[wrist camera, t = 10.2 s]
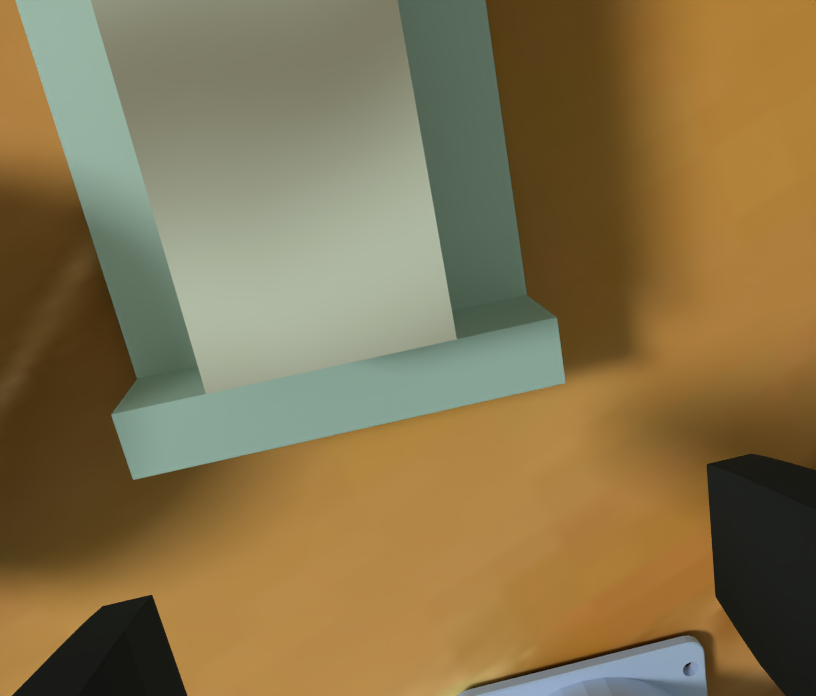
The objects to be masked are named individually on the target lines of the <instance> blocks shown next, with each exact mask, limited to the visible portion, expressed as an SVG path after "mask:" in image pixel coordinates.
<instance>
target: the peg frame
mask: <svg viewBox="0 0 816 696" xmlns="http://www.w3.org/2000/svg"><path fill="white" fill-rule="evenodd" d="M15 1H16V4H17V7H18V10H19V13H20V16H21V19H22V23H23V26H24V29H25V32H26V35H27V38H28V41H29V44H30V47H31V51H32V54H33V57H34V60H35V63H36V66H37V69H38V72H39V75H40V79H41V82H42V85H43V88H44V91H45V94H46V97H47V100H48V103H49V107H50V110H51V113H52V116H53V119H54V122H55V125H56V128H57V131H58V135H59V138H60V141H61V144H62V147H63V150H64V153H65V156H66V159H67V163H68V166H69V169H70V172H71V175H72V178H73V181H74V184H75V187H76V191H77V194H78V197H79V200H80V203H81V206H82V209H83V212H84V215H85V219H86V222H87V225H88V228H89V231H90V234H91V237H92V240H93V243H94V247H95V250H96V253H97V256H98V259H99V262H100V265H101V268H102V271H103V275H104V278H105V281H106V284H107V287H108V290H109V293H110V296H111V299H112V302H113V306H114V309H115V312H116V315H117V318H118V321H119V324H120V327H121V330H122V334H123V337H124V340H125V343H126V346H127V349H128V352H129V355H130V358H131V362H132V365H133V368H134V371H135V374H136V377H137V380H136V381H135V382H134V384H133V385H132V387H131V388H130V389H129V391H128V392H127V393H126V395H125V396H124V398H123V399H122V400H121V402H120V403H119V404H118V406H117V407H116V408H115V410H114V411H113V413H112V414H111V416H112V419H113V422H114V425H115V428H116V431H117V434H118V437H119V440H120V443H121V446H122V449H123V452H124V455H125V457H126V460H127V463H128V466H129V469H130V472H131V475H132V478H133V480H135V479H140V478H144V477H149V476H153V475H158V474H162V473H167V472H171V471H176V470H180V469H185V468H189V467H193V466H198V465H202V464H207V463H211V462H216V461H220V460H225V459H229V458H234V457H238V456H242V455H247V454H251V453H256V452H260V451H265V450H269V449H274V448H278V447H283V446H287V445H291V444H296V443H300V442H305V441H309V440H314V439H318V438H323V437H327V436H332V435H336V434H340V433H345V432H349V431H354V430H358V429H363V428H367V427H372V426H376V425H381V424H385V423H390V422H394V421H398V420H403V419H407V418H412V417H416V416H421V415H425V414H430V413H434V412H439V411H443V410H447V409H452V408H456V407H461V406H465V405H470V404H474V403H479V402H483V401H488V400H492V399H496V398H501V397H505V396H510V395H514V394H519V393H523V392H528V391H532V390H537V389H541V388H545V387H550V386H554V385H559V384H563V383H565V375H564V367H563V360H562V352H561V344H560V336H559V329H558V321H557V317H556V316H555V315H553V314H552V313H551V312H549V311H548V310H547V309H545V308H544V307H543V306H541V305H540V304H539V303H537V302H536V301H535V300H533V299H532V298H531V297H529V296H528V295H527V291H526V284H525V277H524V270H523V263H522V256H521V249H520V241H519V234H518V227H517V220H516V213H515V206H514V199H513V192H512V185H511V178H510V171H509V163H508V156H507V149H506V142H505V135H504V128H503V121H502V114H501V107H500V100H499V92H498V85H497V78H496V71H495V64H494V57H493V50H492V43H491V36H490V29H489V21H488V14H487V7H486V0H398V6H399V11H400V17H401V23H402V29H403V34H404V40H405V46H406V51H407V57H408V63H409V69H410V74H411V80H412V86H413V91H414V97H415V103H416V109H417V114H418V120H419V126H420V131H421V137H422V143H423V149H424V154H425V160H426V166H427V171H428V177H429V183H430V189H431V194H432V200H433V206H434V211H435V217H436V223H437V229H438V234H439V240H440V246H441V251H442V257H443V263H444V269H445V274H446V280H447V286H448V291H449V297H450V303H451V309H452V314H453V320H454V326H455V331H456V337H457V340H452V341H447V342H443V343H438V344H434V345H429V346H425V347H420V348H415V349H411V350H406V351H402V352H397V353H393V354H388V355H383V356H379V357H374V358H370V359H365V360H360V361H356V362H351V363H347V364H342V365H338V366H333V367H328V368H324V369H319V370H315V371H310V372H306V373H301V374H296V375H292V376H287V377H283V378H278V379H274V380H269V381H264V382H260V383H255V384H251V385H246V386H242V387H237V388H232V389H228V390H223V391H219V392H214V393H209V394H206V392H205V389H204V386H203V382H202V379H201V375H200V372H199V369H198V365H197V362H196V358H195V355H194V351H193V348H192V345H191V341H190V338H189V334H188V331H187V328H186V324H185V321H184V317H183V314H182V310H181V307H180V304H179V300H178V297H177V293H176V290H175V287H174V283H173V280H172V276H171V273H170V270H169V266H168V263H167V259H166V256H165V252H164V249H163V246H162V242H161V239H160V235H159V232H158V229H157V225H156V222H155V218H154V215H153V211H152V208H151V205H150V201H149V198H148V194H147V191H146V188H145V184H144V181H143V177H142V174H141V171H140V167H139V164H138V160H137V157H136V153H135V150H134V147H133V143H132V140H131V136H130V133H129V130H128V126H127V123H126V119H125V116H124V112H123V109H122V106H121V102H120V99H119V95H118V92H117V89H116V85H115V82H114V78H113V75H112V72H111V68H110V65H109V61H108V58H107V54H106V51H105V48H104V44H103V41H102V37H101V34H100V31H99V27H98V24H97V20H96V17H95V13H94V10H93V7H92V3H91V0H15Z"/></svg>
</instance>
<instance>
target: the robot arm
mask: <svg viewBox="0 0 816 696" xmlns="http://www.w3.org/2000/svg"><path fill="white" fill-rule="evenodd" d="M707 476H708V491H709V506H710V521H711V536H712V551H713V565H714V580H715V595H716V598H717V599H718V601H719V603H720V604H721V606H722V607H723V609H724V610H725V612H726V614H727V615H728V617H729V618H730V620H731V622H732V623H733V625H734V626H735V628H736V629H737V631H738V633H739V634H740V636H741V637H742V639H743V640H744V642H745V643H746V644H747V646H748V647H749V649H750V650H751V652H752V653H753V655H754V656H755V658H756V659H757V661H758V662H759V664H760V665H761V666H762V668H763V669H764V670H765V671H766V672H767V674H768V675H769V676H770V677H771V679H772V680H773V681H774V682H775V683H776V685H777V686H778V687H779V688H780V689H781V691H782V692H783V693H784V694H785V695H786V696H816V470H812V469H809V468H805V467H802V466H799V465H795V464H792V463H788V462H785V461H781V460H777V459H773V458H769V457H765V456H760V455H755V454H748V455H744V456H740V457H735V458H731V459H727V460H723V461H718V462H714V463H710V464H707ZM690 662H692V663H691V664H690V665H689V666H687V667H684V666H685V665H686V664H688V663H690ZM12 696H187V693H186V691H185V688H184V685H183V682H182V679H181V676H180V673H179V671H178V668H177V665H176V662H175V659H174V656H173V653H172V651H171V648H170V645H169V642H168V639H167V636H166V633H165V631H164V628H163V625H162V622H161V619H160V616H159V613H158V610H157V608H156V605H155V602H154V599H153V596H152V595H149V596H144V597H140V598H136V599H132V600H127V601H123V602H119V603H115V604H110V605H106V606H102V607H101V608H100V609H99V610H98V611H97V612H96V613H94V614H93V615H92V616H91V617H90V618H89V619H88V620H87V621H86V622H85V623H83V624H82V625H81V626H80V627H79V628H78V629H77V630H76V631H75V632H74V633H73V634H72V635H71V636H70V637H69V638H68V639H67V640H66V641H65V642H64V643H63V644H62V645H61V646H60V647H59V648H58V649H57V650H56V651H55V652H54V653H53V654H52V655H51V656H50V657H49V658H48V660H47V661H46V662H45V663H44V664H43V665H42V666H41V667H40V668H39V669H38V670H37V671H36V672H35V673H34V674H33V675H32V676H31V677H30V678H29V679H28V680H27V681H26V682H25V683H24V684H23V685H22V686H21V687H20V688H19V689H18V690H17V691H16V692H15V693H14V694H13V695H12ZM458 696H708V695H707V682H706V669H705V656H704V649H703V647H702V645H701V644H700V643H699V641H698V640H697V639H696V638H695V637H693V636H689V635H688V636H681V637H677V638H673V639H669V640H665V641H661V642H657V643H653V644H649V645H645V646H641V647H637V648H633V649H629V650H625V651H621V652H617V653H613V654H609V655H605V656H601V657H597V658H593V659H589V660H585V661H581V662H577V663H573V664H569V665H565V666H561V667H557V668H553V669H549V670H545V671H541V672H537V673H533V674H529V675H525V676H521V677H517V678H513V679H509V680H505V681H501V682H497V683H493V684H489V685H485V686H481V687H477V688H473V689H469V690H466V691H463V692H461V693H460V694H459V695H458Z"/></svg>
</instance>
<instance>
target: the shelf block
mask: <svg viewBox="0 0 816 696" xmlns="http://www.w3.org/2000/svg"><path fill="white" fill-rule="evenodd" d="M91 3H92V7H93V10H94V13H95V17H96V20H97V24H98V27H99V31H100V34H101V37H102V41H103V44H104V48H105V51H106V54H107V58H108V61H109V65H110V68H111V72H112V75H113V78H114V82H115V85H116V89H117V92H118V95H119V99H120V102H121V106H122V109H123V112H124V116H125V119H126V123H127V126H128V130H129V133H130V136H131V140H132V143H133V147H134V150H135V153H136V157H137V160H138V164H139V167H140V171H141V174H142V177H143V181H144V184H145V188H146V191H147V194H148V198H149V201H150V205H151V208H152V211H153V215H154V218H155V222H156V225H157V229H158V232H159V235H160V239H161V242H162V246H163V249H164V252H165V256H166V259H167V263H168V266H169V270H170V273H171V276H172V280H173V283H174V287H175V290H176V293H177V297H178V300H179V304H180V307H181V310H182V314H183V317H184V321H185V324H186V328H187V331H188V334H189V338H190V341H191V345H192V348H193V351H194V355H195V358H196V362H197V365H198V369H199V372H200V375H201V379H202V382H203V386H204V389H205V392H206V394H209V393H214V392H219V391H223V390H228V389H232V388H237V387H242V386H246V385H251V384H255V383H260V382H264V381H269V380H274V379H278V378H283V377H287V376H292V375H296V374H301V373H306V372H310V371H315V370H319V369H324V368H328V367H333V366H338V365H342V364H347V363H351V362H356V361H360V360H365V359H370V358H374V357H379V356H383V355H388V354H393V353H397V352H402V351H406V350H411V349H415V348H420V347H425V346H429V345H434V344H438V343H443V342H447V341H452V340H457V337H456V331H455V326H454V320H453V314H452V309H451V303H450V297H449V291H448V286H447V280H446V274H445V269H444V263H443V257H442V251H441V246H440V240H439V234H438V229H437V223H436V217H435V211H434V206H433V200H432V194H431V189H430V183H429V177H428V171H427V166H426V160H425V154H424V149H423V143H422V137H421V131H420V126H419V120H418V114H417V109H416V103H415V97H414V91H413V86H412V80H411V74H410V69H409V63H408V57H407V51H406V46H405V40H404V34H403V29H402V23H401V17H400V11H399V6H398V0H91Z"/></svg>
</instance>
